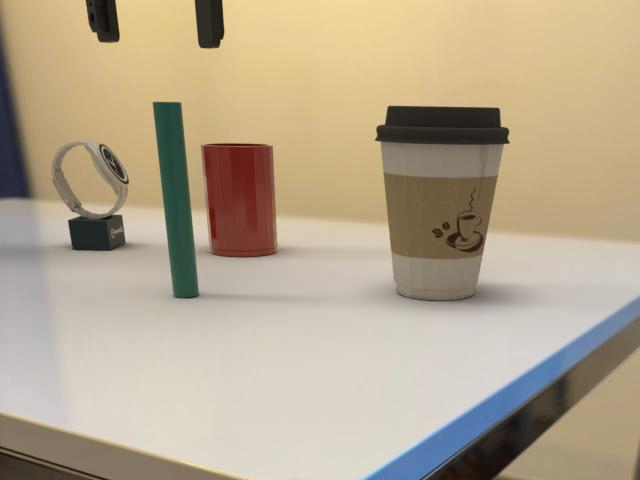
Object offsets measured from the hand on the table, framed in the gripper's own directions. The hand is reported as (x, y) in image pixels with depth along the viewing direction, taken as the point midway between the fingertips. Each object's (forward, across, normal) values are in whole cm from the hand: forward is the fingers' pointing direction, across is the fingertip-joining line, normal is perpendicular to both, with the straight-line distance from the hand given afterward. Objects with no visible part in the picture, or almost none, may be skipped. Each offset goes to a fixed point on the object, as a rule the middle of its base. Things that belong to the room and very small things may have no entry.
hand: (161, 45), depth 60 cm
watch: (+19, -6, -29) cm, 35 cm away
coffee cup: (+19, -18, +13) cm, 29 cm away
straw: (+19, 0, 0) cm, 19 cm away
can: (+19, -17, -16) cm, 30 cm away
